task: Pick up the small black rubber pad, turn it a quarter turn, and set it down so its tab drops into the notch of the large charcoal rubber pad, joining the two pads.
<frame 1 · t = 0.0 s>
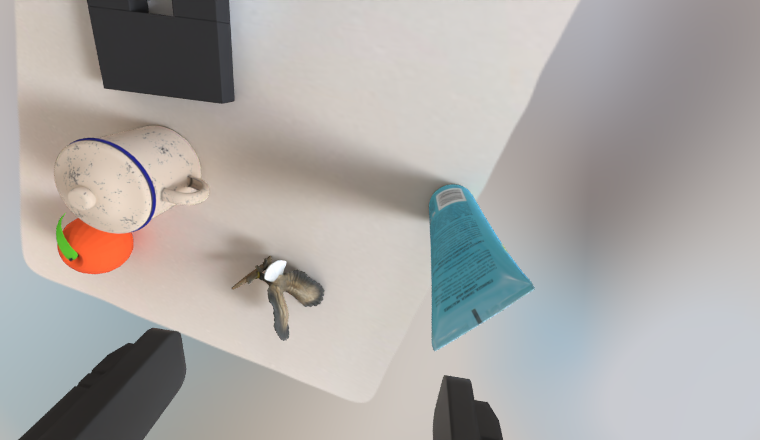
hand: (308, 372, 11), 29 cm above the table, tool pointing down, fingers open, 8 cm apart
large pad: (172, 40, 35), on the table
tube: (452, 204, 39), on the table
eagle figurine: (291, 279, 46), on the table
teacup with lid: (179, 166, 41), on the table
clementine: (118, 226, 45), on the table
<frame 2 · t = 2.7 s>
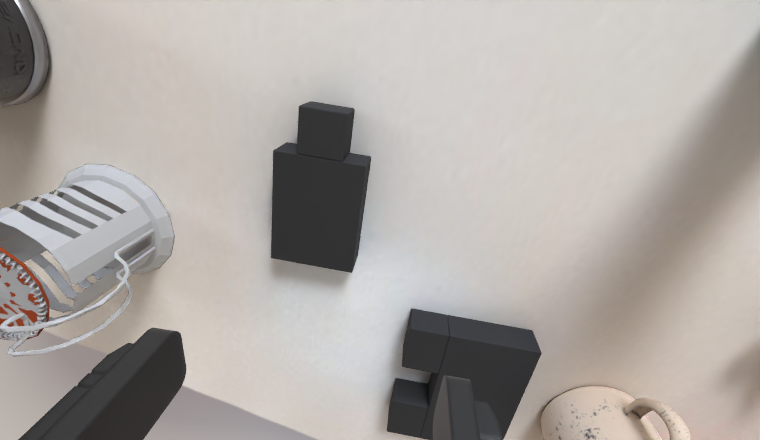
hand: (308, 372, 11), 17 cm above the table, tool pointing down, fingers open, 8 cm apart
large pad: (454, 372, 32), on the table
small pad: (324, 202, 27), on the table
teacup with lid: (596, 405, 32), on the table
french press: (128, 224, 29), on the table
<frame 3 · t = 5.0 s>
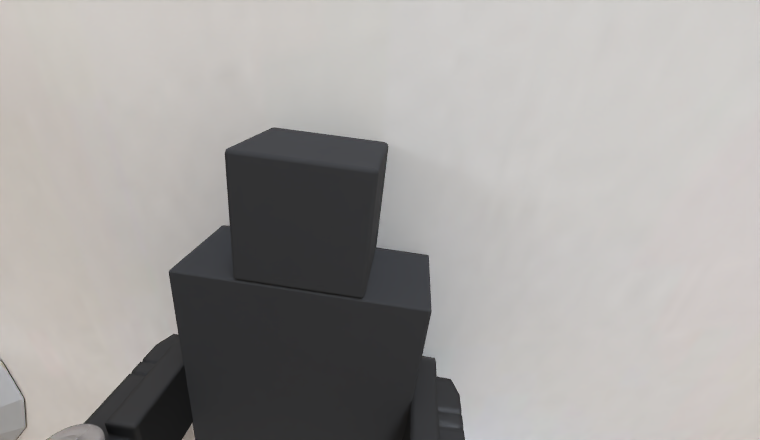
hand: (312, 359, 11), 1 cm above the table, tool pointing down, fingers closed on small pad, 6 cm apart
small pad: (318, 345, 12), on the table, touching gripper
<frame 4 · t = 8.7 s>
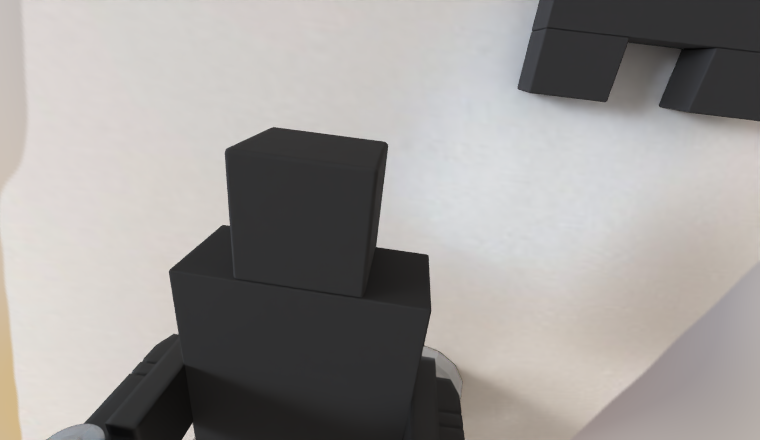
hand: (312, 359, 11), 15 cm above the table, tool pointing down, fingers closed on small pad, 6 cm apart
large pad: (659, 1, 19), on the table
small pad: (318, 345, 12), point 14 cm above the table, touching gripper
french press: (407, 376, 31), on the table
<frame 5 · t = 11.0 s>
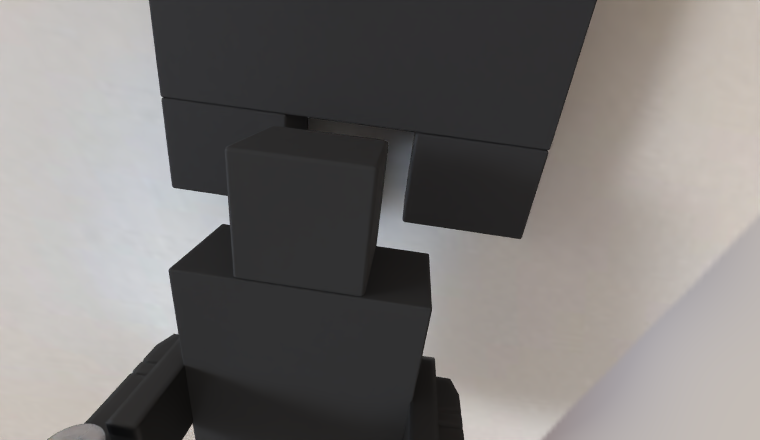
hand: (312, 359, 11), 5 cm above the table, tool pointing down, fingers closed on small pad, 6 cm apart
large pad: (368, 53, 12), on the table
small pad: (318, 344, 12), point 4 cm above the table, touching gripper
when the fingers open (1 cm above the table, at t = 12.6 s): small pad stays where it is, on the table.
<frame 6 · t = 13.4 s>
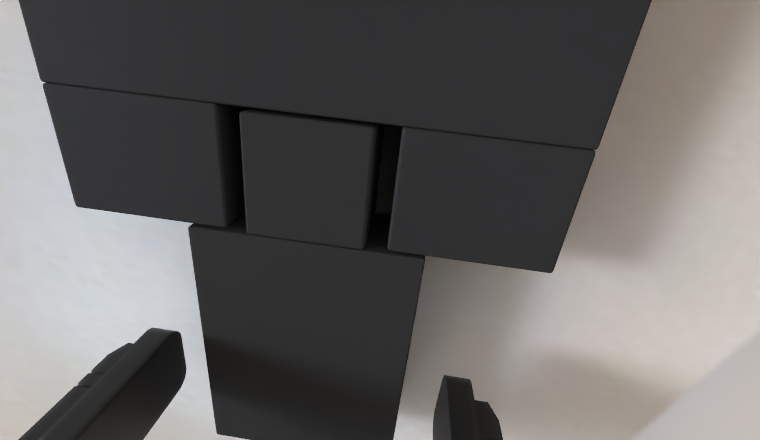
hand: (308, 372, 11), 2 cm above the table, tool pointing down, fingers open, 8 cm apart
large pad: (337, 18, 9), on the table
small pad: (323, 308, 13), on the table
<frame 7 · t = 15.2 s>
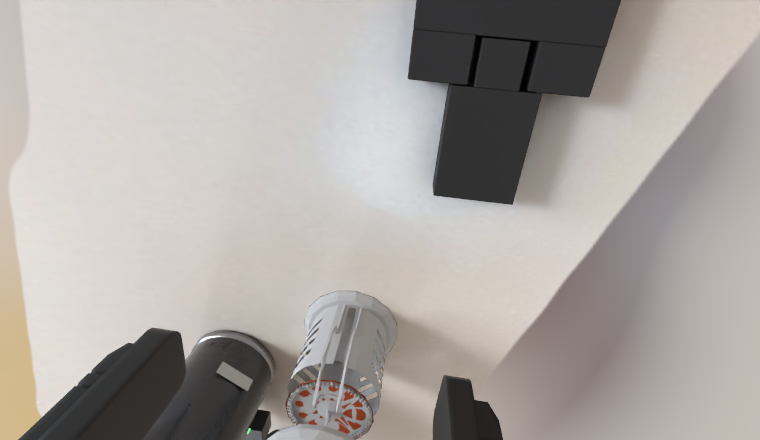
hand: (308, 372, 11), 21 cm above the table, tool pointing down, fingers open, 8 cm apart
large pad: (507, 5, 24), on the table
small pad: (478, 140, 28), on the table
french press: (351, 321, 37), on the table
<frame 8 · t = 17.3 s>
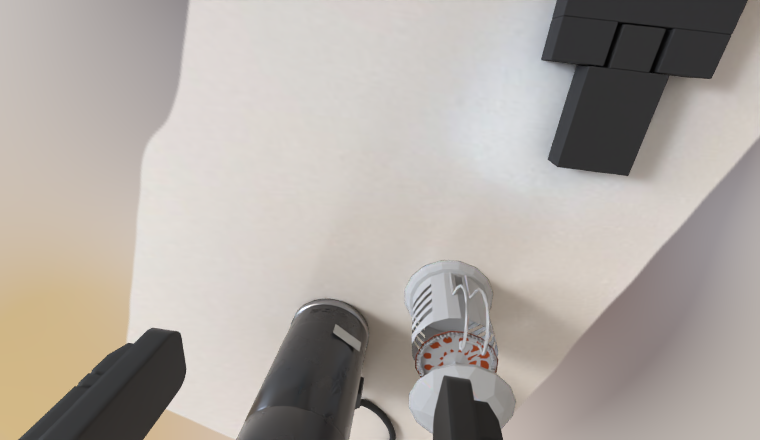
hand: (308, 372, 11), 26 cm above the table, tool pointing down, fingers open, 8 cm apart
small pad: (596, 119, 31), on the table
french press: (449, 290, 40), on the table
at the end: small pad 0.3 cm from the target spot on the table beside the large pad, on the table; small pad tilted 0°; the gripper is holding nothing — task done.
